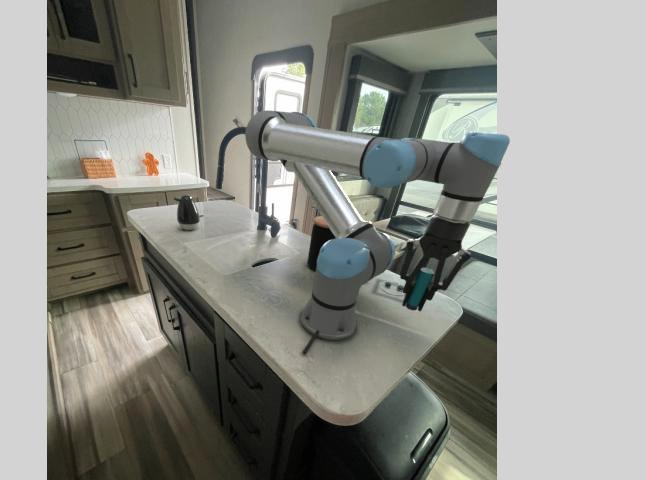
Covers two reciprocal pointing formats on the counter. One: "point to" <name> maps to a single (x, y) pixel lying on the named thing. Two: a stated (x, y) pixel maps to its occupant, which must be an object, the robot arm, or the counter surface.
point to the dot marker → (419, 288)
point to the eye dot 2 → (400, 287)
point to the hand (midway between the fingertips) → (411, 305)
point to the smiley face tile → (388, 293)
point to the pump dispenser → (187, 213)
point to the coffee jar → (318, 240)
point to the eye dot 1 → (388, 284)
